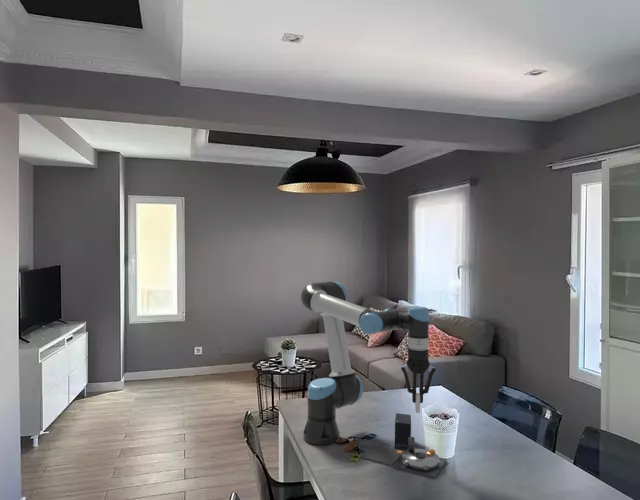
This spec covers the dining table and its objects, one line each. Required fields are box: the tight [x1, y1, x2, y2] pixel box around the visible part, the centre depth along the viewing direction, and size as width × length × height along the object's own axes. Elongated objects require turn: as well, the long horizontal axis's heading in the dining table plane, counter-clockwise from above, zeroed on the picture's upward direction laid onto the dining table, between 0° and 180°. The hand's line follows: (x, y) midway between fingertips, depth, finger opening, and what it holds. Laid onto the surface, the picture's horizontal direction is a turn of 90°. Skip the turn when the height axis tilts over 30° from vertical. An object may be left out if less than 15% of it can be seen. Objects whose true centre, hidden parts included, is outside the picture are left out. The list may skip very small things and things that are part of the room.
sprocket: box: [400, 436, 441, 470], centre depth 168 cm, size 14×13×7 cm
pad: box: [359, 443, 406, 467], centre depth 175 cm, size 13×13×1 cm
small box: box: [393, 412, 412, 450], centre depth 186 cm, size 11×6×10 cm, turn 168°
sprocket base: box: [393, 456, 448, 480], centre depth 168 cm, size 15×15×1 cm
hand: (417, 411), depth 172 cm, fingers closed
